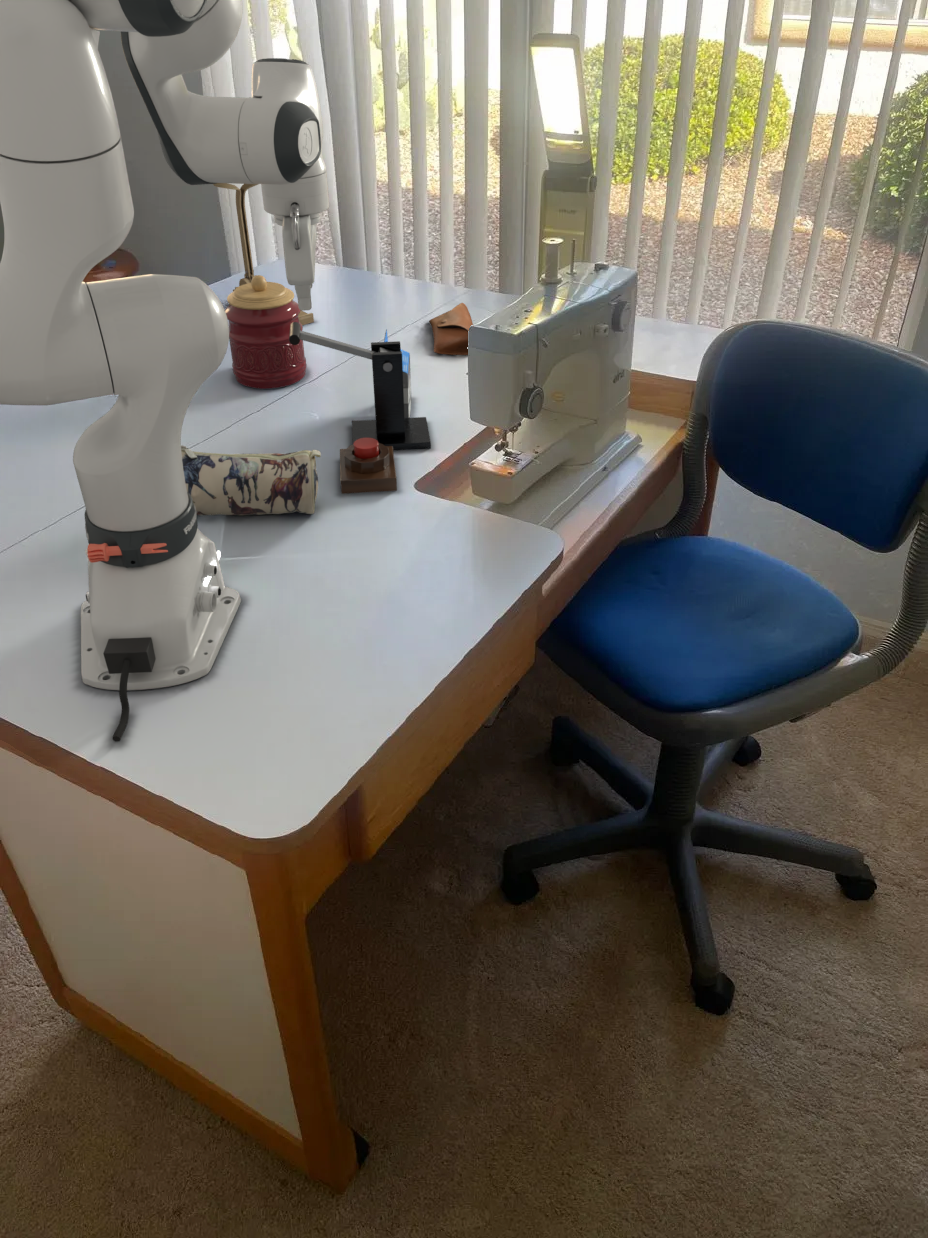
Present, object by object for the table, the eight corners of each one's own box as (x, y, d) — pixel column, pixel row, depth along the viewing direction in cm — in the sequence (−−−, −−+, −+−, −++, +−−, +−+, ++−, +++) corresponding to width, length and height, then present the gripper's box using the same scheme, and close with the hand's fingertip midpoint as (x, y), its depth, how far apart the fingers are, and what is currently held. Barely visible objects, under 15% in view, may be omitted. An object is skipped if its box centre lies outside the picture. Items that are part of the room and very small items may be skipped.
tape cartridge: (410, 421, 158) (407, 349, 151) (386, 422, 158) (382, 349, 151) (412, 398, 165) (409, 328, 158) (389, 398, 165) (385, 328, 158)
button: (379, 458, 140) (378, 448, 139) (354, 460, 140) (353, 449, 139) (378, 447, 143) (377, 436, 142) (354, 448, 143) (353, 437, 142)
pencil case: (163, 526, 133) (149, 462, 127) (178, 495, 139) (165, 433, 134) (322, 526, 133) (316, 462, 127) (330, 495, 139) (324, 433, 133)
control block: (397, 491, 140) (395, 466, 138) (341, 494, 140) (339, 469, 137) (393, 458, 148) (392, 434, 146) (340, 461, 147) (338, 437, 145)
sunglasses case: (426, 319, 194) (442, 289, 191) (456, 335, 197) (473, 306, 194) (433, 353, 180) (451, 322, 177) (465, 370, 183) (483, 340, 179)
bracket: (353, 453, 150) (346, 361, 141) (352, 427, 157) (345, 338, 148) (430, 449, 151) (428, 357, 142) (426, 423, 158) (423, 335, 149)
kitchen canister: (220, 374, 174) (204, 274, 163) (281, 355, 181) (270, 258, 170) (259, 396, 166) (245, 293, 155) (321, 376, 173) (312, 276, 162)
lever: (287, 346, 140) (291, 330, 139) (288, 332, 144) (292, 317, 143) (394, 376, 145) (399, 361, 144) (392, 362, 149) (397, 347, 148)
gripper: (318, 213, 123) (328, 321, 131) (319, 177, 139) (328, 275, 147) (268, 215, 122) (281, 323, 130) (275, 179, 138) (286, 277, 147)
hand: (306, 297), depth 139 cm, fingers open, 8 cm apart
